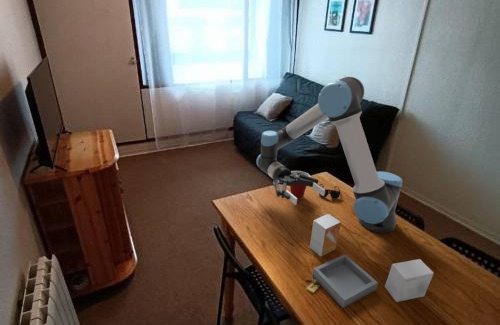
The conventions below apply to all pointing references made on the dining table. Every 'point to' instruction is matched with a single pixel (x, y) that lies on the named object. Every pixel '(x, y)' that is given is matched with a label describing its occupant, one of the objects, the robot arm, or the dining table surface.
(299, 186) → the plastic cup
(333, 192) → the sunglasses
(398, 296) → the skincare box
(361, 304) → the dining table surface
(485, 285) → the dining table surface
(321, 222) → the small box
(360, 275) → the tray
